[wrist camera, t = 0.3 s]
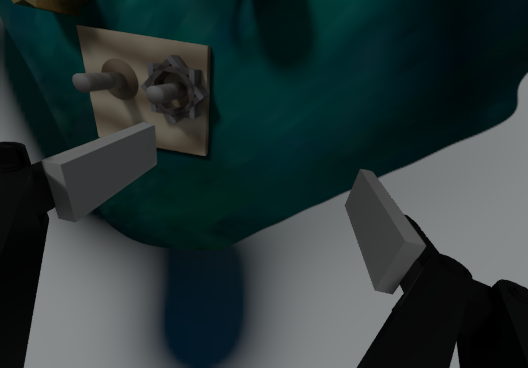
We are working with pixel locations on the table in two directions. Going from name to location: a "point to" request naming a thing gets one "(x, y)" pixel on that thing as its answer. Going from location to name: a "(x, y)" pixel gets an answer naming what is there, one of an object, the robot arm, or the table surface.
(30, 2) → the brass gear
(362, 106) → the table surface
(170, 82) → the gear board
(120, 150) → the robot arm
